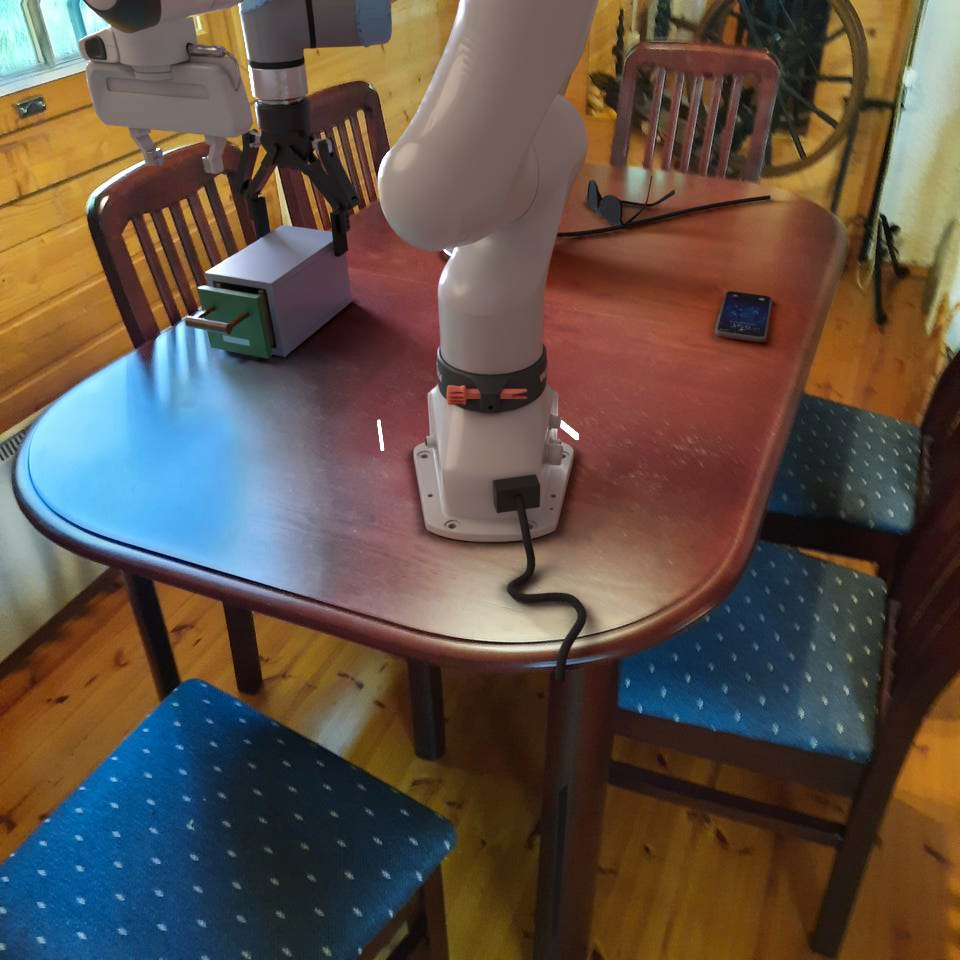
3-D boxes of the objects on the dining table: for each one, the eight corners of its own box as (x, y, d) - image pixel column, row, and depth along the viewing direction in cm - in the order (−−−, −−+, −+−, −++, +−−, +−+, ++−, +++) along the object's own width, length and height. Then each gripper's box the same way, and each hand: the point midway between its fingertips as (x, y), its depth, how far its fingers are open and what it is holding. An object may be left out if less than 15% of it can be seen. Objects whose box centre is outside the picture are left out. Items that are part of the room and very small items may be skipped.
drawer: (245, 377, 115) (232, 315, 110) (186, 365, 118) (170, 304, 113) (334, 305, 133) (326, 249, 127) (280, 296, 136) (271, 241, 130)
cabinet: (284, 356, 122) (271, 283, 115) (220, 344, 125) (204, 272, 119) (352, 301, 136) (344, 233, 130) (293, 291, 140) (282, 224, 133)
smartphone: (773, 295, 132) (766, 339, 121) (772, 301, 133) (765, 345, 121) (725, 289, 134) (713, 331, 123) (724, 295, 135) (712, 337, 123)
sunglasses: (684, 220, 161) (688, 194, 158) (614, 230, 158) (616, 203, 155) (646, 193, 174) (648, 168, 171) (580, 201, 171) (581, 176, 168)
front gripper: (251, 41, 94) (272, 169, 102) (105, 32, 100) (136, 153, 109) (216, 52, 89) (241, 185, 97) (65, 42, 96) (101, 168, 104)
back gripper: (374, 99, 116) (386, 249, 129) (222, 85, 124) (248, 228, 137) (347, 112, 111) (362, 268, 123) (190, 97, 119) (219, 245, 131)
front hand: (184, 168), depth 103 cm, fingers open, 7 cm apart
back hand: (302, 247), depth 130 cm, fingers open, 13 cm apart
